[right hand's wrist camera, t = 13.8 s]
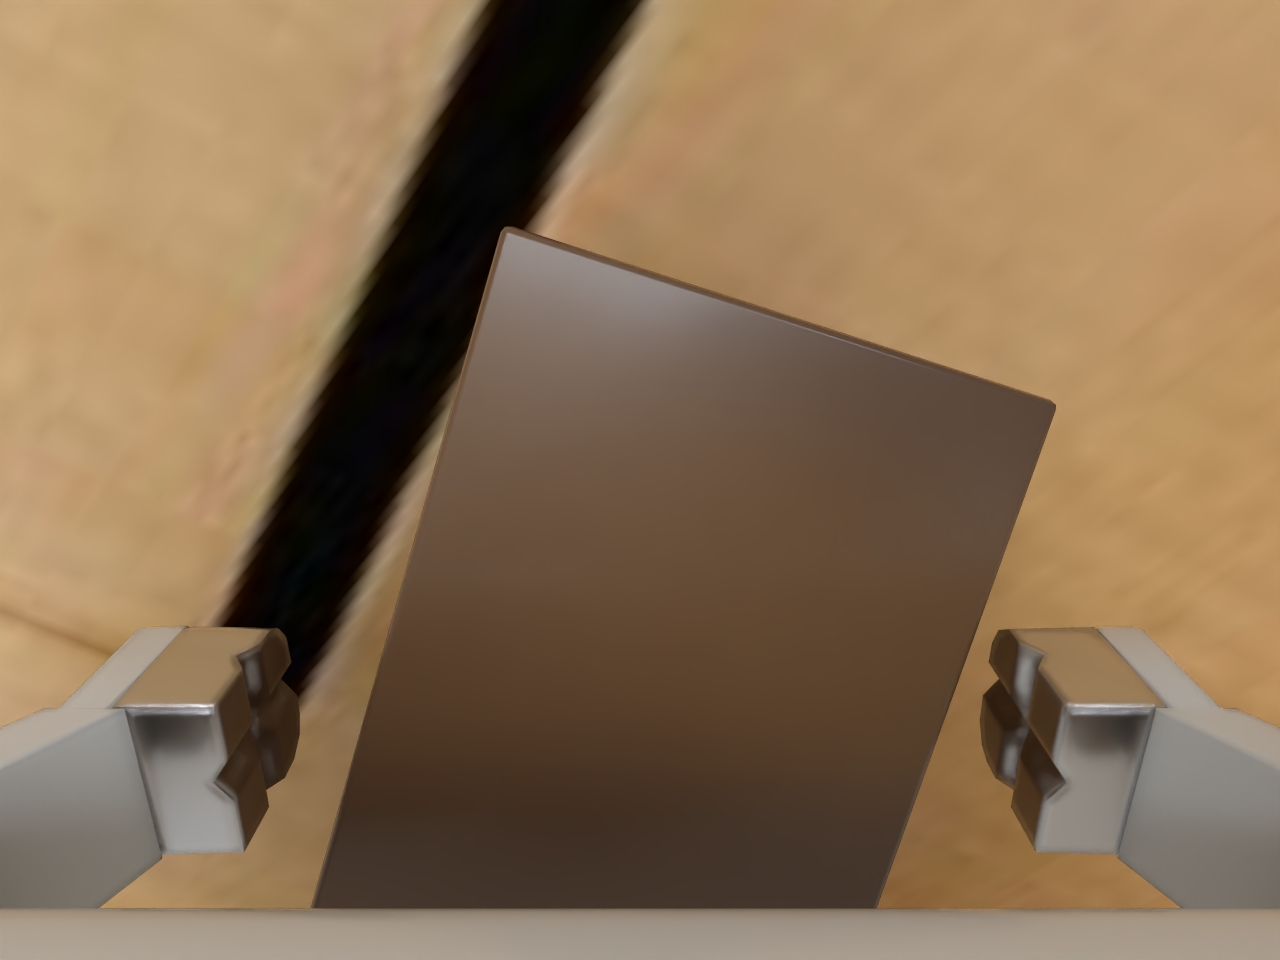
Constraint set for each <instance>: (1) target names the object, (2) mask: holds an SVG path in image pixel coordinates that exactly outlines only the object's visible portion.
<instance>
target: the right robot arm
mask: <svg viewBox="0 0 1280 960" xmlns="http://www.w3.org/2000/svg"><path fill="white" fill-rule="evenodd" d="M290 663H291V659H290V654H289V649H288V644H287V640H286V636H285V635H284V634H283V633H282V632H281V631H280V630H279V629H278V628H231V627H191V628H190V627H188V626H164V627H146V628H141V629H138V630H137V631H136V632H135V633H134V634H133V635H132V636H131V637H130V638H129V639H128V640H127V641H126V642H125V643H124V644H123V645H122V646H121V647H120V648H119V649H118V650H117V651H116V652H115V653H114V654H113V655H112V656H111V657H110V658H109V659H108V660H107V661H106V662H105V663H104V664H103V665H102V666H101V667H100V668H99V669H98V670H97V671H96V672H95V673H94V674H93V675H92V676H91V677H90V678H89V679H88V680H87V681H86V682H85V683H84V684H83V685H82V686H81V687H80V688H79V689H78V690H77V691H76V692H75V693H74V694H73V695H72V696H71V697H70V698H69V699H68V700H67V701H66V702H65V703H64V704H63V705H62V706H61V707H60V708H44V709H42V710H40V711H37V712H35V713H33V714H31V715H28V716H26V717H24V718H21V719H19V720H17V721H15V722H12V723H10V724H8V725H6V726H3V727H1V728H0V960H1280V728H1279V727H1277V726H1274V725H1272V724H1270V723H1268V722H1265V721H1263V720H1261V719H1258V718H1256V717H1254V716H1252V715H1249V714H1247V713H1245V712H1243V711H1240V710H1238V709H1236V708H1220V707H1219V706H1218V705H1217V704H1216V703H1215V702H1214V701H1213V700H1212V699H1211V698H1210V697H1209V696H1208V695H1207V694H1206V693H1205V692H1204V691H1203V690H1202V689H1201V688H1200V687H1199V686H1198V685H1197V684H1196V683H1195V682H1194V681H1193V680H1192V679H1191V678H1190V677H1189V676H1188V675H1187V674H1186V673H1185V672H1184V671H1183V670H1182V669H1181V668H1180V667H1179V666H1178V665H1177V664H1176V663H1175V662H1174V661H1173V660H1172V659H1171V658H1170V657H1169V656H1168V655H1167V654H1166V653H1165V652H1164V651H1163V650H1162V649H1161V648H1160V647H1159V646H1158V645H1157V644H1156V643H1155V642H1154V641H1153V640H1152V639H1151V638H1150V637H1149V636H1148V635H1147V634H1146V633H1145V632H1144V631H1143V630H1141V629H1139V628H1136V627H1133V626H1112V627H1083V628H1042V629H1007V630H998V632H997V634H996V636H995V638H994V640H993V642H992V647H991V653H990V658H989V663H990V665H991V666H992V668H993V669H994V671H995V673H996V674H997V676H998V677H999V680H998V681H997V682H996V683H995V684H994V685H993V686H992V687H991V688H990V689H989V690H988V691H987V692H986V693H985V694H984V695H983V700H982V708H981V715H980V728H981V740H982V746H983V750H984V753H985V756H986V760H987V762H988V764H989V766H990V768H991V770H992V772H993V774H994V776H995V778H996V779H998V780H999V781H1001V782H1003V783H1004V784H1006V785H1007V786H1009V787H1010V788H1012V789H1013V790H1014V793H1013V798H1012V804H1011V808H1012V809H1013V811H1014V813H1015V815H1016V817H1017V818H1018V820H1019V822H1020V824H1021V826H1022V828H1023V829H1024V831H1025V833H1026V835H1027V837H1028V838H1029V840H1030V842H1031V844H1032V846H1033V848H1034V849H1035V851H1036V852H1051V853H1088V854H1118V857H1117V858H1118V859H1119V860H1121V861H1122V862H1123V863H1125V864H1126V865H1127V866H1128V867H1130V868H1131V869H1132V870H1134V871H1135V872H1136V873H1137V874H1139V875H1140V876H1141V877H1142V878H1144V879H1145V880H1146V881H1148V882H1149V883H1150V884H1151V885H1153V886H1154V887H1155V888H1157V889H1158V890H1159V891H1160V892H1162V893H1163V894H1164V895H1165V896H1167V897H1168V898H1169V899H1171V900H1172V901H1173V902H1174V903H1176V904H1177V905H1178V906H1180V907H1181V908H1175V909H1169V908H1168V909H1167V908H1165V909H235V908H233V909H232V908H99V907H101V906H102V905H103V904H105V903H106V902H107V901H108V900H110V899H111V898H112V897H114V896H115V895H116V894H117V893H119V892H120V891H121V890H123V889H124V888H125V887H126V886H128V885H129V884H130V883H131V882H133V881H134V880H135V879H137V878H138V877H139V876H140V875H142V874H143V873H144V872H146V871H147V870H148V869H149V868H151V867H152V866H153V865H155V864H156V863H157V862H158V861H160V860H161V859H162V854H191V853H226V852H244V851H245V850H246V848H247V846H248V844H249V842H250V840H251V839H252V837H253V835H254V833H255V831H256V829H257V828H258V826H259V824H260V822H261V820H262V819H263V817H264V815H265V813H266V811H267V809H268V808H269V804H268V798H267V793H266V790H267V789H268V788H270V787H271V786H273V785H274V784H276V783H277V782H279V781H281V780H282V779H284V778H285V776H286V774H287V772H288V770H289V768H290V766H291V764H292V762H293V760H294V757H295V753H296V748H297V744H298V739H299V735H300V712H299V706H298V699H297V695H296V694H295V693H294V692H293V691H292V690H291V689H290V688H289V687H288V686H287V685H286V684H285V683H284V682H283V681H282V680H281V677H282V676H283V674H284V673H285V671H286V669H287V668H288V666H289V665H290Z"/></svg>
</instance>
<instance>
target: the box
mask: <svg viewBox="0 0 1280 960" xmlns="http://www.w3.org/2000/svg"><path fill="white" fill-rule="evenodd" d="M1055 410H1056V405H1055V404H1054V403H1053V402H1052V401H1051V400H1049V399H1046V398H1042V397H1039V396H1036V395H1033V394H1030V393H1027V392H1024V391H1021V390H1018V389H1015V388H1011V387H1008V386H1005V385H1002V384H999V383H996V382H993V381H990V380H987V379H984V378H980V377H977V376H974V375H971V374H968V373H965V372H962V371H959V370H956V369H952V368H949V367H946V366H943V365H940V364H937V363H934V362H931V361H928V360H925V359H921V358H918V357H915V356H912V355H909V354H906V353H903V352H900V351H897V350H894V349H890V348H887V347H884V346H881V345H878V344H875V343H872V342H869V341H866V340H863V339H859V338H856V337H853V336H850V335H847V334H844V333H841V332H838V331H835V330H832V329H828V328H825V327H822V326H819V325H816V324H813V323H810V322H807V321H804V320H800V319H797V318H794V317H791V316H788V315H785V314H782V313H779V312H776V311H773V310H769V309H766V308H763V307H760V306H757V305H754V304H751V303H748V302H745V301H742V300H738V299H735V298H732V297H729V296H726V295H723V294H720V293H717V292H714V291H711V290H707V289H704V288H701V287H698V286H695V285H692V284H689V283H686V282H683V281H680V280H676V279H673V278H670V277H667V276H664V275H661V274H658V273H655V272H652V271H648V270H645V269H642V268H639V267H636V266H633V265H630V264H627V263H624V262H621V261H617V260H614V259H611V258H608V257H605V256H602V255H599V254H596V253H593V252H590V251H586V250H583V249H580V248H577V247H574V246H571V245H568V244H565V243H562V242H559V241H555V240H552V239H549V238H546V237H543V236H540V235H537V234H534V233H531V232H528V231H524V230H521V229H518V228H515V227H505V228H504V229H503V230H502V232H501V234H500V237H499V241H498V244H497V248H496V251H495V255H494V258H493V262H492V266H491V269H490V273H489V276H488V280H487V283H486V287H485V290H484V294H483V298H482V301H481V305H480V308H479V312H478V315H477V319H476V322H475V326H474V330H473V333H472V337H471V340H470V344H469V347H468V351H467V354H466V358H465V361H464V365H463V369H462V372H461V376H460V379H459V383H458V386H457V390H456V393H455V397H454V401H453V404H452V408H451V411H450V415H449V418H448V422H447V425H446V429H445V432H444V436H443V440H442V443H441V447H440V450H439V454H438V457H437V461H436V464H435V468H434V472H433V475H432V479H431V482H430V486H429V489H428V493H427V496H426V500H425V504H424V507H423V511H422V514H421V518H420V521H419V525H418V528H417V532H416V535H415V539H414V543H413V546H412V550H411V553H410V557H409V560H408V564H407V567H406V571H405V575H404V578H403V582H402V585H401V589H400V592H399V596H398V599H397V603H396V606H395V610H394V614H393V617H392V621H391V624H390V628H389V631H388V635H387V638H386V642H385V646H384V649H383V653H382V656H381V660H380V663H379V667H378V670H377V674H376V678H375V681H374V685H373V688H372V692H371V695H370V699H369V702H368V706H367V709H366V713H365V717H364V720H363V724H362V727H361V731H360V734H359V738H358V741H357V745H356V749H355V752H354V756H353V759H352V763H351V766H350V770H349V773H348V777H347V780H346V784H345V788H344V791H343V795H342V798H341V802H340V805H339V809H338V812H337V816H336V820H335V823H334V827H333V830H332V834H331V837H330V841H329V844H328V848H327V852H326V855H325V859H324V862H323V866H322V869H321V873H320V876H319V880H318V883H317V887H316V891H315V894H314V898H313V901H312V905H311V908H310V909H876V908H877V905H878V902H879V900H880V897H881V894H882V891H883V889H884V886H885V883H886V880H887V877H888V875H889V872H890V869H891V866H892V864H893V861H894V858H895V855H896V852H897V850H898V847H899V844H900V841H901V839H902V836H903V833H904V830H905V827H906V825H907V822H908V819H909V816H910V814H911V811H912V808H913V805H914V802H915V800H916V797H917V794H918V791H919V788H920V786H921V783H922V780H923V777H924V775H925V772H926V769H927V766H928V763H929V761H930V758H931V755H932V752H933V750H934V747H935V744H936V741H937V738H938V736H939V733H940V730H941V727H942V725H943V722H944V719H945V716H946V713H947V711H948V708H949V705H950V702H951V700H952V697H953V694H954V691H955V688H956V686H957V683H958V680H959V677H960V675H961V672H962V669H963V666H964V663H965V661H966V658H967V655H968V652H969V649H970V647H971V644H972V641H973V638H974V636H975V633H976V630H977V627H978V624H979V622H980V619H981V616H982V613H983V611H984V608H985V605H986V602H987V599H988V597H989V594H990V591H991V588H992V586H993V583H994V580H995V577H996V574H997V572H998V569H999V566H1000V563H1001V561H1002V558H1003V555H1004V552H1005V549H1006V547H1007V544H1008V541H1009V538H1010V536H1011V533H1012V530H1013V527H1014V524H1015V522H1016V519H1017V516H1018V513H1019V510H1020V508H1021V505H1022V502H1023V499H1024V497H1025V494H1026V491H1027V488H1028V485H1029V483H1030V480H1031V477H1032V474H1033V472H1034V469H1035V466H1036V463H1037V460H1038V458H1039V455H1040V452H1041V449H1042V447H1043V444H1044V441H1045V438H1046V435H1047V433H1048V430H1049V427H1050V424H1051V422H1052V419H1053V416H1054V413H1055Z"/></svg>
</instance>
